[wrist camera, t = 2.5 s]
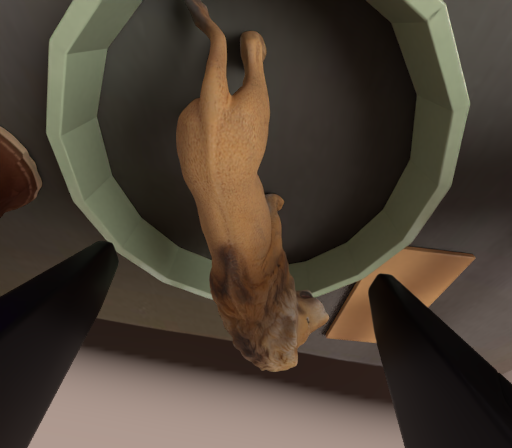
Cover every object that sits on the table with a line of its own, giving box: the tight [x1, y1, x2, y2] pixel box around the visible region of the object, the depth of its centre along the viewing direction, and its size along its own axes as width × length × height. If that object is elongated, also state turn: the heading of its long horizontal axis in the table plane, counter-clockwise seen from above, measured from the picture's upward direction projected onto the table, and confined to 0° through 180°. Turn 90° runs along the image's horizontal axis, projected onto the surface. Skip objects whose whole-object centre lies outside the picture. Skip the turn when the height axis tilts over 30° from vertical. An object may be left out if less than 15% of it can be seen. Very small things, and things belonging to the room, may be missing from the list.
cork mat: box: [326, 246, 475, 343], centre depth 22 cm, size 7×13×1 cm, turn 173°
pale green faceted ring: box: [46, 0, 470, 300], centre depth 13 cm, size 18×18×3 cm
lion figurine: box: [176, 0, 329, 372], centre depth 11 cm, size 15×5×9 cm, turn 17°
